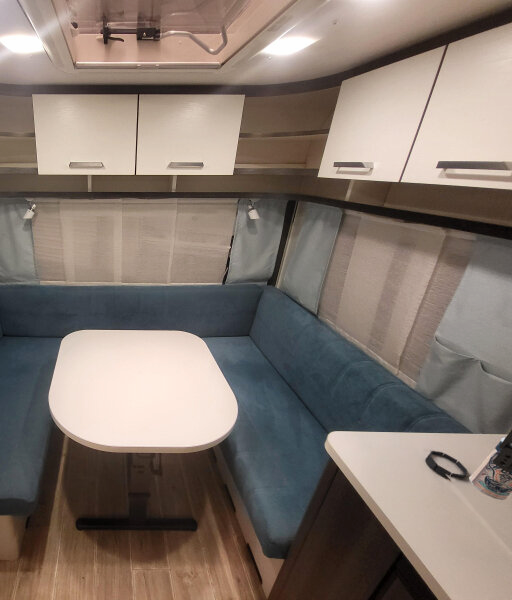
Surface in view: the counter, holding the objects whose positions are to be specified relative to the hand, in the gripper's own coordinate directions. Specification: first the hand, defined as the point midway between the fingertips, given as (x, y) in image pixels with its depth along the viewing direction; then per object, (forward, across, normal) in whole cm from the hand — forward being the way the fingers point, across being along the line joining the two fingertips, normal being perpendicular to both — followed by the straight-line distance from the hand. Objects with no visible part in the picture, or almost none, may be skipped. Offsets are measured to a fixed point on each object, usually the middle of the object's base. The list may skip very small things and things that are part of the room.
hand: (509, 462), depth 55 cm
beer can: (+8, 0, 0) cm, 8 cm away
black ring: (+21, +17, +9) cm, 29 cm away
